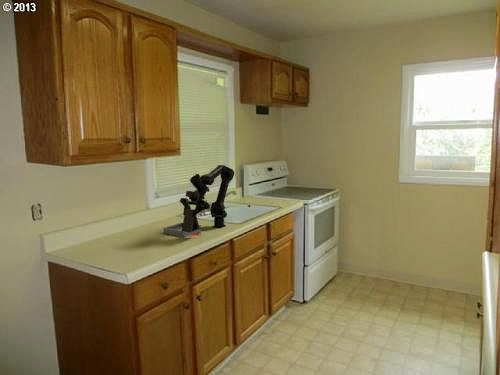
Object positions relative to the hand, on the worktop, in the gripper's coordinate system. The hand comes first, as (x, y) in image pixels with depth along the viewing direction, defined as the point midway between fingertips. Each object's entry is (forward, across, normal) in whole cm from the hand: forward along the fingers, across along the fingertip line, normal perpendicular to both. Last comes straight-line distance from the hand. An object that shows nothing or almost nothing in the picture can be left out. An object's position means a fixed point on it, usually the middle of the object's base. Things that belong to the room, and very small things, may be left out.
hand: (188, 215), depth 206 cm
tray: (+3, -14, +16) cm, 22 cm away
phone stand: (+5, 0, +8) cm, 9 cm away
